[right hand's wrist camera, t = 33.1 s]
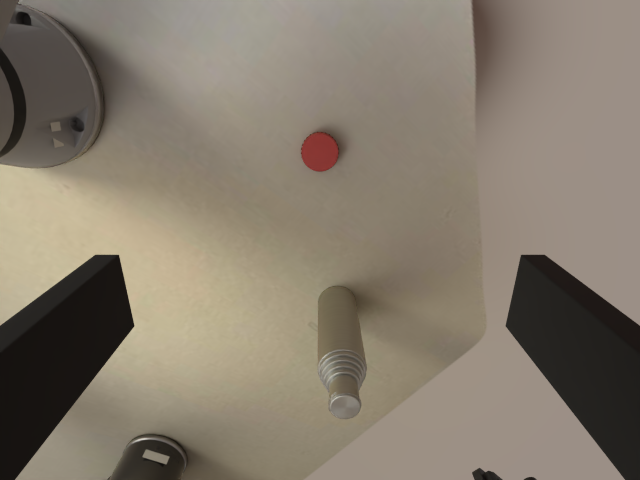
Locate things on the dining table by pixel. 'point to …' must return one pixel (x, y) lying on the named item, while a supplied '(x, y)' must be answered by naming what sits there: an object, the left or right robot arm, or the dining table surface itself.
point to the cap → (319, 151)
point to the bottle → (340, 351)
